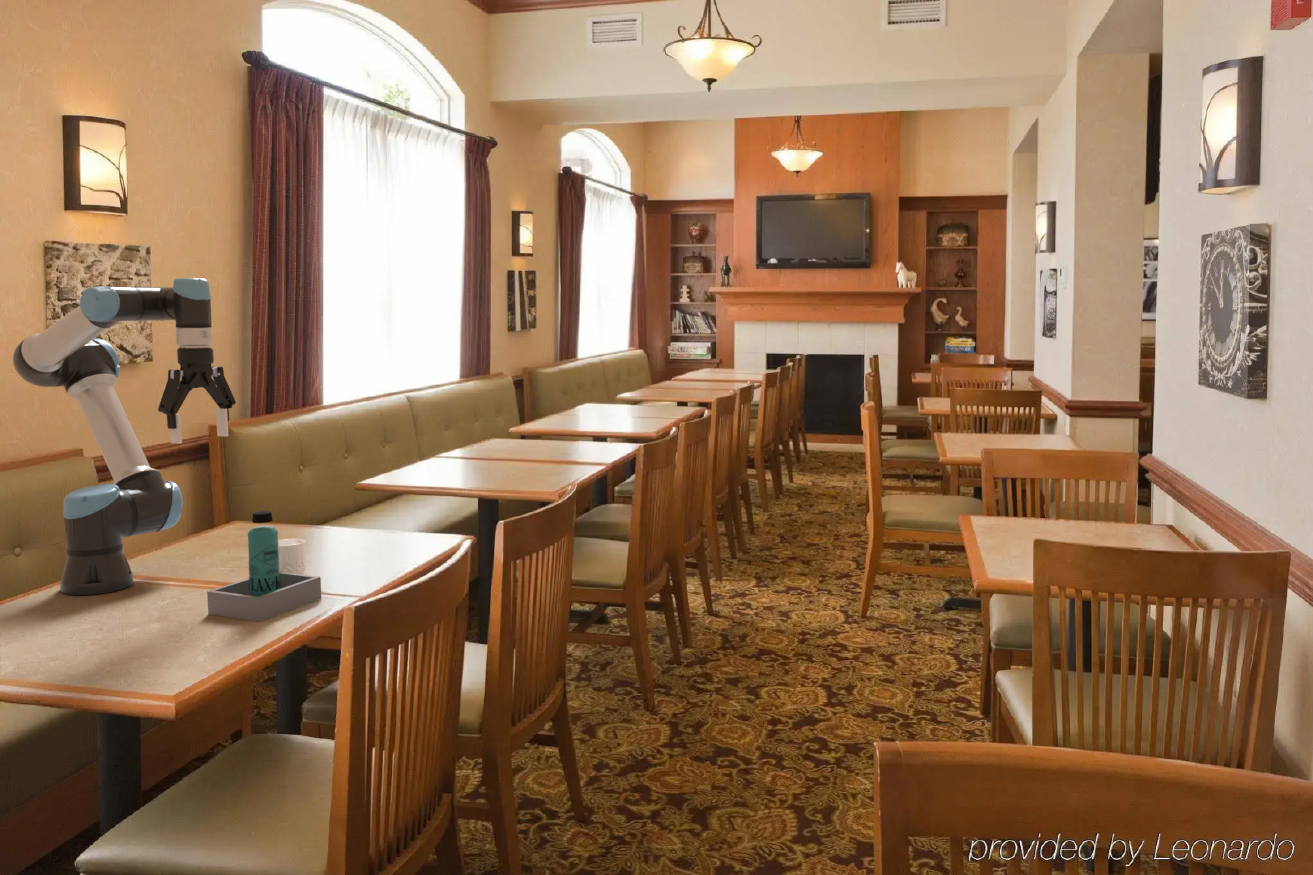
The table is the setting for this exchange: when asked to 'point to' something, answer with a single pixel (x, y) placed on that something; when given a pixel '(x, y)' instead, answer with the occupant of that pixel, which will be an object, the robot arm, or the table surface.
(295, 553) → the white cup
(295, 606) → the trough tray
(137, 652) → the table surface
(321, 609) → the table surface
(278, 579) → the beverage bottle
